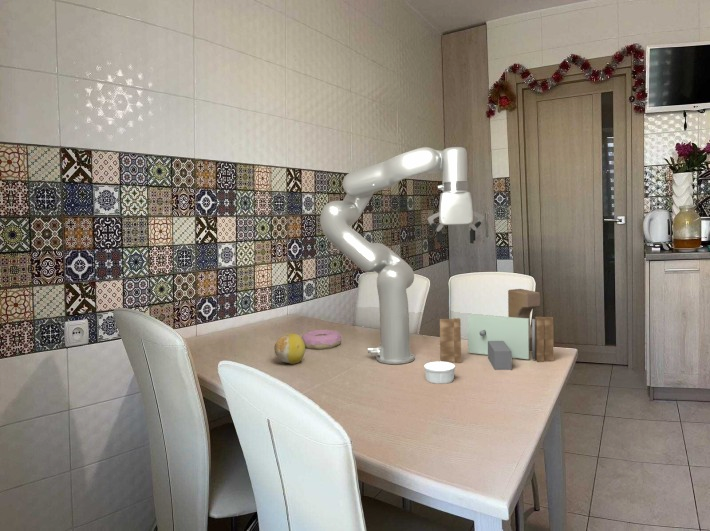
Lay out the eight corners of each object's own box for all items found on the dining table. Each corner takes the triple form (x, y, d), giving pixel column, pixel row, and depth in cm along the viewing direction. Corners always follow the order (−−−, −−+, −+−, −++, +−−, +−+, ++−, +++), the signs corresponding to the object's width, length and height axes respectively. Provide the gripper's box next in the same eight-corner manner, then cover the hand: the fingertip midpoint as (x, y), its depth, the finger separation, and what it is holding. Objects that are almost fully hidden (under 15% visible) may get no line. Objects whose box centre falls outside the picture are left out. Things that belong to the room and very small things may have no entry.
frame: (441, 363, 167) (440, 320, 166) (440, 361, 169) (439, 318, 168) (553, 361, 164) (553, 318, 163) (551, 359, 166) (551, 316, 165)
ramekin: (448, 386, 144) (448, 371, 144) (419, 382, 149) (418, 367, 149) (459, 377, 152) (459, 363, 151) (431, 374, 157) (431, 359, 156)
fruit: (292, 357, 181) (291, 329, 180) (312, 362, 173) (311, 333, 172) (268, 364, 174) (266, 334, 173) (287, 369, 166) (286, 339, 165)
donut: (336, 339, 206) (335, 326, 206) (346, 348, 192) (346, 334, 191) (297, 343, 202) (296, 330, 201) (305, 352, 187) (304, 339, 187)
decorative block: (541, 350, 178) (540, 292, 176) (526, 352, 176) (526, 293, 175) (521, 343, 189) (521, 288, 187) (507, 344, 187) (507, 289, 185)
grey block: (494, 370, 158) (494, 351, 157) (487, 358, 171) (487, 340, 170) (511, 370, 157) (511, 351, 157) (503, 358, 170) (503, 340, 170)
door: (466, 353, 175) (465, 315, 174) (469, 351, 178) (468, 314, 176) (533, 361, 163) (533, 320, 162) (535, 359, 166) (535, 318, 165)
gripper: (427, 188, 158) (428, 245, 159) (485, 186, 156) (486, 243, 158) (426, 190, 165) (427, 244, 167) (481, 187, 164) (482, 242, 165)
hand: (456, 243), depth 162 cm, fingers open, 9 cm apart
